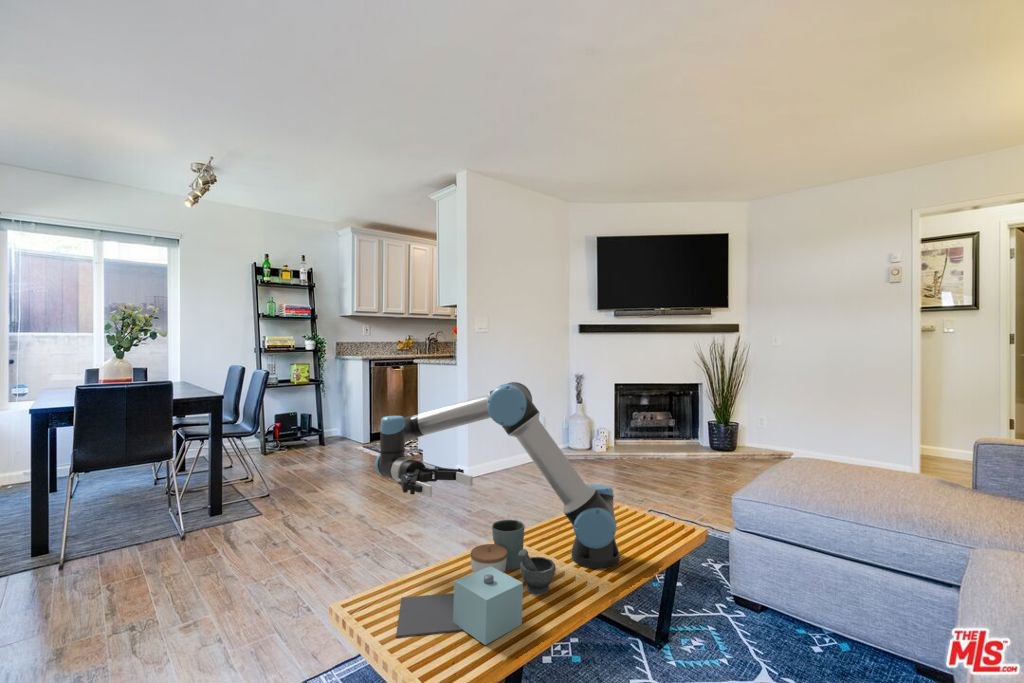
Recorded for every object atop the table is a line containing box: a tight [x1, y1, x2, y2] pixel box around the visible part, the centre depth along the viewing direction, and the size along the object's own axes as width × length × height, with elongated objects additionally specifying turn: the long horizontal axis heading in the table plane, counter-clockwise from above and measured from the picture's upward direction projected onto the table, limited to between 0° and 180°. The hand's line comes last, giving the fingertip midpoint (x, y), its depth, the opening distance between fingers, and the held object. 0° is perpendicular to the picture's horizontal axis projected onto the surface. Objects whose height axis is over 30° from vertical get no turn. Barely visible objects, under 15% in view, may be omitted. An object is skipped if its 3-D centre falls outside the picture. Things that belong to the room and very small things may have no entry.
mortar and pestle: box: [518, 548, 556, 596], centre depth 129 cm, size 11×9×12 cm
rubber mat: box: [395, 592, 464, 638], centre depth 117 cm, size 17×17×1 cm
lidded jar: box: [470, 543, 507, 573], centre depth 135 cm, size 11×11×9 cm
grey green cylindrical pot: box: [491, 519, 525, 571], centre depth 145 cm, size 10×10×12 cm
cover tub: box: [453, 566, 524, 646], centre depth 112 cm, size 12×12×11 cm
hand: (452, 486), depth 125 cm, fingers open, 13 cm apart
